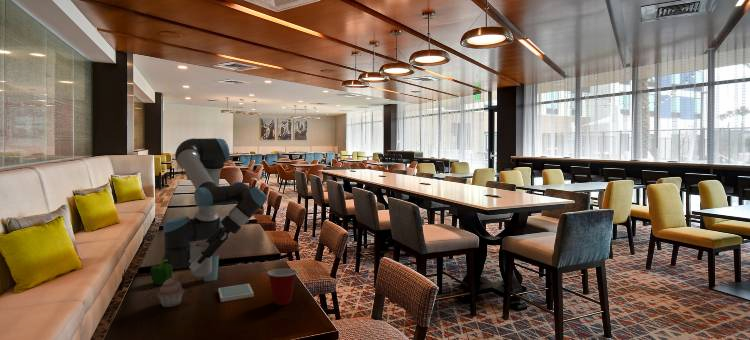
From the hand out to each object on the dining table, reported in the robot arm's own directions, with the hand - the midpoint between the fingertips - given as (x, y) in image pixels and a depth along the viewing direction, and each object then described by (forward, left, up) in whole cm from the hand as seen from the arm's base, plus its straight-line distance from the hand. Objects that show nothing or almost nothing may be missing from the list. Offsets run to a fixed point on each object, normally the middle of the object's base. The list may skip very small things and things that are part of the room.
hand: (191, 266), depth 157 cm
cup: (-22, +7, -13) cm, 27 cm away
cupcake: (+2, -7, -13) cm, 15 cm away
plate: (+2, +15, -13) cm, 20 cm away
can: (0, +3, -4) cm, 5 cm away
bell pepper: (-26, -12, -13) cm, 31 cm away
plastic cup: (+19, +30, -13) cm, 38 cm away
